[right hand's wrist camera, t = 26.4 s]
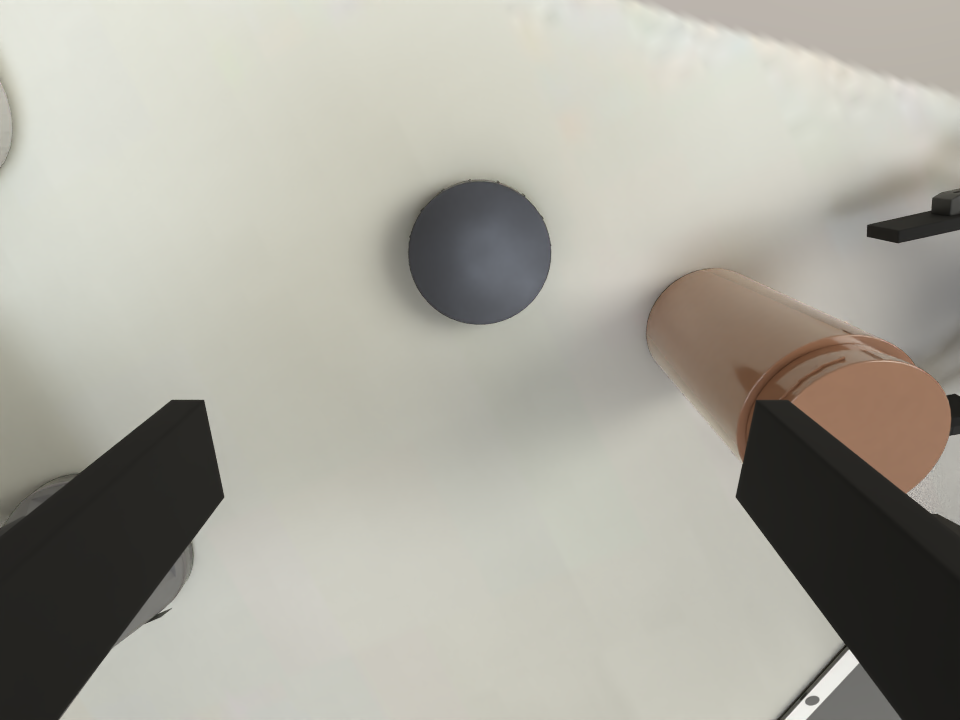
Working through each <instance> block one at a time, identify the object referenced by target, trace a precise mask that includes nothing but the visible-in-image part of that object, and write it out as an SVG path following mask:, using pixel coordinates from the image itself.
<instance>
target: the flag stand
mask: <svg viewBox="0 0 960 720" xmlns="http://www.w3.org/2000/svg"><path fill="white" fill-rule="evenodd" d="M12 132H13V131H12V115H11V111H10V107H9V102H8V98H7V96H6V93H5V91H4V88H3V86H2V84H1V81H0V167H1V166H2V164H3V163H4V161H5V160H6V157H7V154H8V152H9V149H10V146H11V139H12Z"/></svg>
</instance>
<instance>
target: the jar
mask: <svg viewBox="0 0 960 720" xmlns="http://www.w3.org/2000/svg"><path fill="white" fill-rule="evenodd" d="M646 337H647V344H648V347H649V351H650V353H651V355H652V357H653V359H654V360H655V362H656V363H657V364H658V365H659V366H660V368H661V369H662V370H663V371H664V372H665V374H666V375H667V376H668V377H669V378H670V379H671V381H672V382H673V383H674V384H675V385H676V387H677V388H678V389H679V390H680V391H681V392H682V394H683V395H684V396H685V397H686V398H687V400H688V401H689V402H690V403H691V404H692V405H693V407H694V408H695V409H696V410H697V411H698V413H699V414H700V415H701V416H702V417H703V418H704V420H705V421H706V422H707V423H708V424H709V426H710V427H711V428H712V429H713V430H714V431H715V433H716V434H717V435H718V436H719V437H720V439H721V440H722V441H723V442H724V443H725V444H726V446H727V447H728V448H729V449H730V450H731V452H732V453H733V454H734V455H735V456H736V457H737V459H738V460H739V461H740V462H741V463H742V464H743V460H744V455H745V450H746V445H747V440H748V436H749V431H750V426H751V421H752V416H753V412H754V407H755V402H756V400H789V401H790V402H791V403H793V404H794V405H795V406H796V407H798V408H799V409H800V410H801V411H803V412H804V413H805V414H806V415H808V416H809V417H810V418H811V419H813V420H814V421H815V422H816V423H818V424H819V425H820V426H822V427H823V428H824V429H825V430H827V431H828V432H829V433H830V434H832V435H833V436H834V437H835V438H837V439H838V440H839V441H840V442H842V443H843V444H844V445H845V446H847V447H848V448H849V449H850V450H852V451H853V452H854V453H855V454H857V455H858V456H859V457H860V458H862V459H863V460H864V461H865V462H867V463H868V464H869V465H870V466H872V467H873V468H874V469H875V470H877V471H878V472H879V473H881V474H882V475H883V476H884V477H886V478H887V479H888V480H889V481H891V482H892V483H893V484H894V485H896V486H897V487H898V488H899V489H901V490H902V491H903V492H904V493H907V492H909V491H910V490H911V489H913V488H914V487H915V486H916V485H917V484H919V483H920V482H921V481H922V480H923V479H924V478H925V477H926V476H927V474H928V473H929V472H930V471H931V470H932V469H933V467H934V466H935V464H936V463H937V461H938V460H939V458H940V456H941V455H942V453H943V451H944V449H945V446H946V443H947V441H948V437H949V433H950V428H951V409H950V405H949V401H948V399H947V396H946V394H945V392H944V390H943V389H942V387H941V386H940V384H939V383H938V382H937V381H936V380H935V379H934V378H933V377H932V376H931V375H930V374H928V373H927V372H925V371H924V370H922V369H921V368H918V367H916V366H915V364H914V363H913V362H912V360H911V359H910V358H909V357H908V356H907V355H906V354H905V353H904V352H903V351H902V350H901V349H899V348H898V347H896V346H895V345H894V344H891V343H889V342H887V341H885V340H883V339H881V338H879V337H876V336H874V335H872V334H870V333H868V332H866V331H863V330H861V329H859V328H857V327H855V326H852V325H850V324H848V323H846V322H844V321H842V320H839V319H837V318H835V317H833V316H831V315H829V314H826V313H824V312H822V311H820V310H818V309H815V308H813V307H811V306H809V305H807V304H805V303H802V302H800V301H798V300H796V299H794V298H792V297H789V296H787V295H785V294H783V293H781V292H778V291H776V290H774V289H772V288H770V287H768V286H765V285H763V284H761V283H759V282H757V281H754V280H752V279H750V278H748V277H746V276H744V275H741V274H739V273H737V272H734V271H731V270H727V269H721V268H710V269H703V270H699V271H695V272H692V273H690V274H687V275H685V276H683V277H681V278H680V279H678V280H677V281H675V282H674V283H672V284H671V285H670V286H669V287H668V288H667V289H666V290H665V291H664V292H663V293H662V294H661V295H660V297H659V298H658V299H657V301H656V302H655V304H654V306H653V308H652V310H651V313H650V315H649V319H648V322H647V329H646Z"/></svg>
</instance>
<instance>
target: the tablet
mask: <svg viewBox="0 0 960 720" xmlns="http://www.w3.org/2000/svg"><path fill="white" fill-rule="evenodd" d="M780 720H902V719H901V718H900V717H899V715H898V714H897V713H896V711H895V710H894V709H893V707H892V706H891V705H890V703H889V702H888V701H887V699H886V698H885V697H884V695H883V694H882V693H881V691H880V690H879V689H878V687H877V686H876V685H875V683H874V682H873V681H872V679H871V678H870V676H869V675H868V674H867V672H866V671H865V670H864V668H863V667H862V666H861V664H860V663H859V662H858V660H857V659H856V658H855V656H854V655H853V654H852V652H851V651H850V650H849V648H848V647H846V648H845V649H844V650H843V651H842V652H841V653H840V654H839V655H838V656H837V658H836V659H835V660H834V661H833V662H832V663H831V664H830V665H829V666H828V667H827V668H826V670H825V671H824V672H823V673H822V674H821V675H820V676H819V677H818V678H817V679H816V681H815V682H814V683H813V684H812V685H811V686H810V687H809V688H808V689H807V690H806V692H805V693H804V694H803V695H802V696H801V697H800V698H799V699H798V700H797V701H796V702H795V704H794V705H793V706H792V707H791V708H790V709H789V710H788V711H787V712H786V713H785V715H784V716H783V717H782V718H781V719H780Z"/></svg>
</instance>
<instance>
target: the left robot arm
mask: <svg viewBox="0 0 960 720" xmlns="http://www.w3.org/2000/svg"><path fill="white" fill-rule="evenodd" d="M956 230H960V189H955V190H952V191H947V192H942V193H940V194H938V195H937V196H935V197H933V198H932V210H931V211H928V212H923V213H919V214H914V215H910V216H905V217H901V218H896V219H892V220H887V221H883V222H878V223H874V224H869V225H867V237H871V238H876V239H880V240H885V241H890V242H895V243H901V242H906V241H910V240H915V239H920V238H924V237H929V236H933V235H938V234H942V233H947V232H952V231H956ZM946 396H947V399H948V401H949V405H950V409H951V428H950V433H949V436H951V435H956V434H960V396H958V395H956V394H952V395H946Z"/></svg>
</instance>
